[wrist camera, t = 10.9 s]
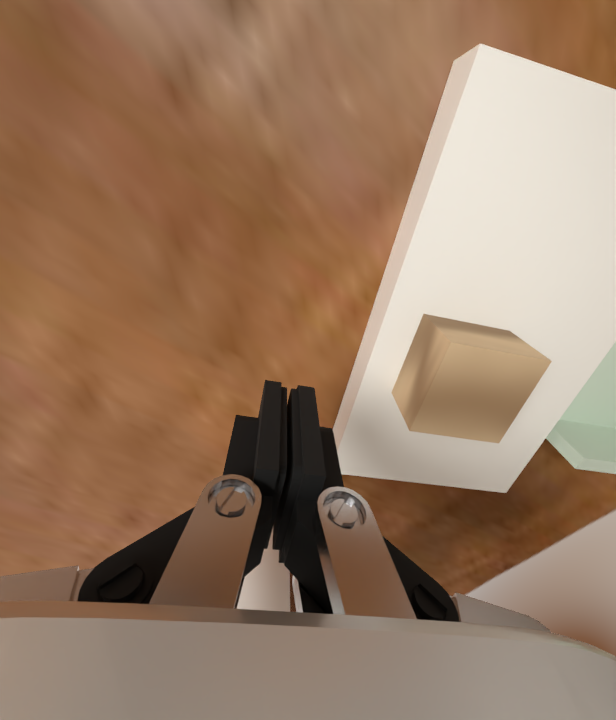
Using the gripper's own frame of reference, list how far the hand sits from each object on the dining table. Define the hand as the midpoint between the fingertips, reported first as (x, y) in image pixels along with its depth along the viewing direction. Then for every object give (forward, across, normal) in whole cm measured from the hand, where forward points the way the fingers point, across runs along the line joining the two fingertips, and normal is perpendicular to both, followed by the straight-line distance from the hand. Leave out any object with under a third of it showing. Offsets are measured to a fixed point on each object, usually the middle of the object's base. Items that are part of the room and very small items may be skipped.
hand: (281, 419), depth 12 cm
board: (+7, -10, -2) cm, 13 cm away
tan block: (+5, -8, -1) cm, 10 cm away
